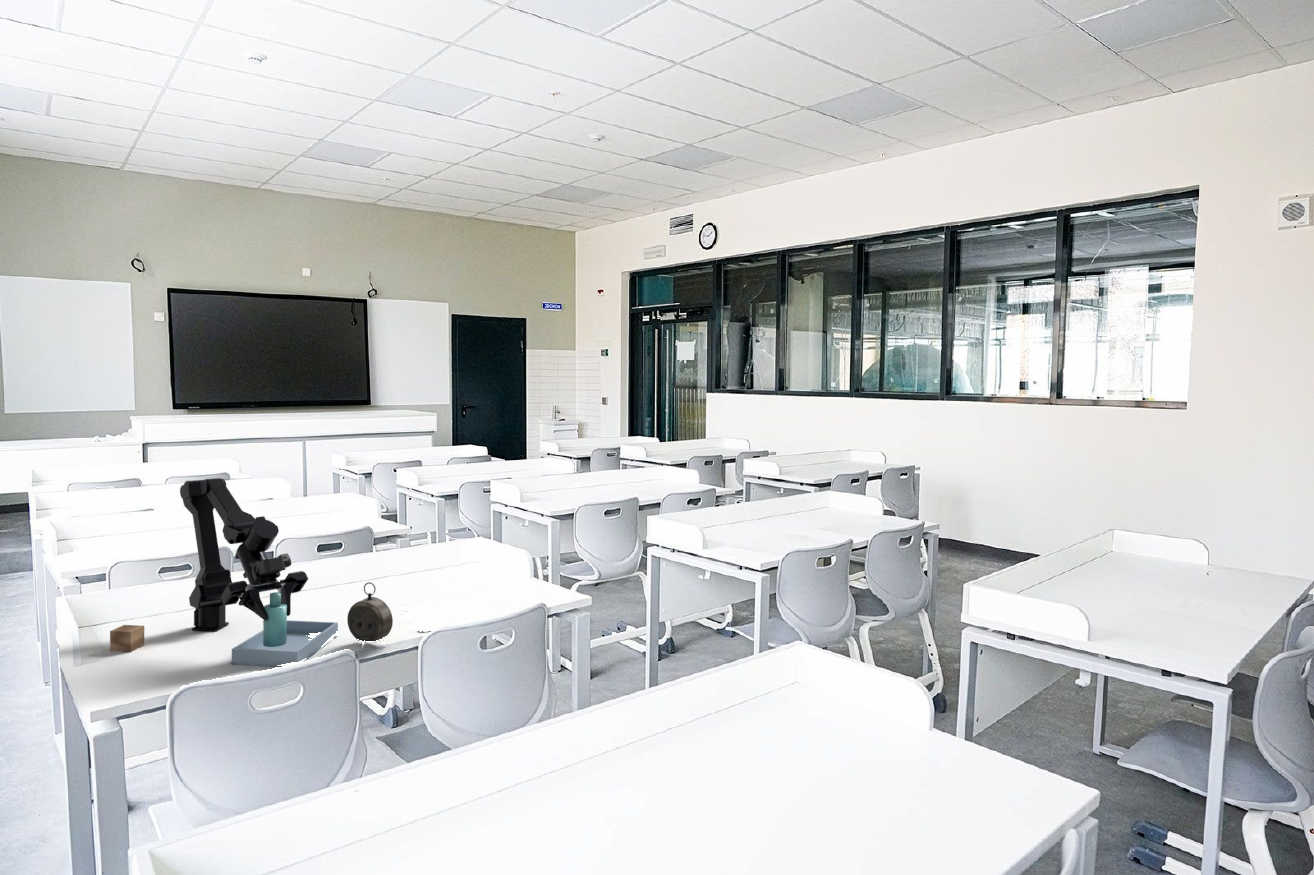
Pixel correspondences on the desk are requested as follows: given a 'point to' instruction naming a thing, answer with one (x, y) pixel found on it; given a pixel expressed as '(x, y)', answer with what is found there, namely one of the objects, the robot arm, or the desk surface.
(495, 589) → the desk surface
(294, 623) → the tray
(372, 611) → the alarm clock
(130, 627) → the walnut cube
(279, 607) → the teal canister
